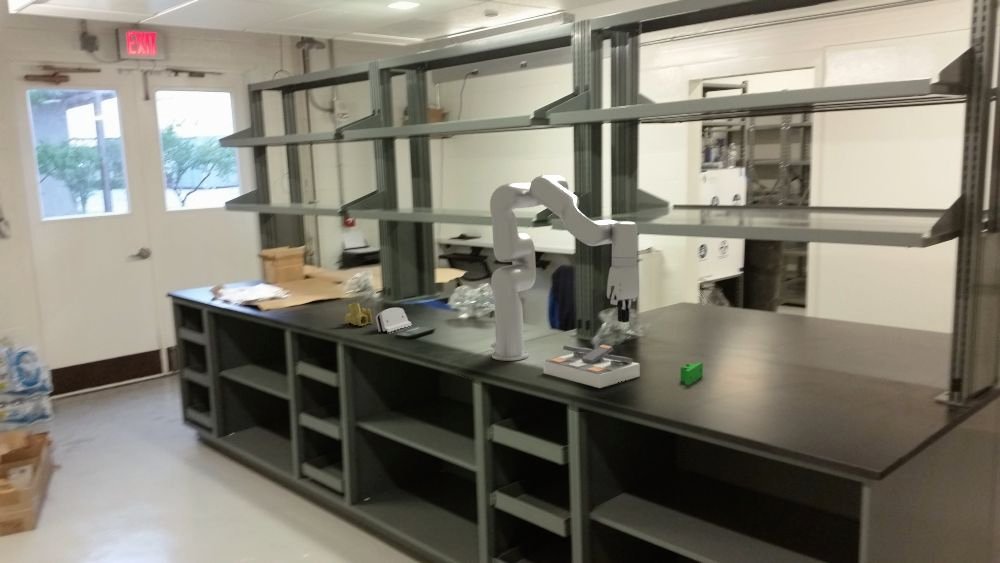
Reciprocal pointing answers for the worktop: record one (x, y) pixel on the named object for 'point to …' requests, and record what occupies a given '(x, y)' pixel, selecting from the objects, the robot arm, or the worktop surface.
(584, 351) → the block
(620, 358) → the rocker
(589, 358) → the rocker
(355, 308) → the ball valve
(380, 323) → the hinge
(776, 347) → the worktop surface
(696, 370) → the pipe clamp
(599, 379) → the switch unit
